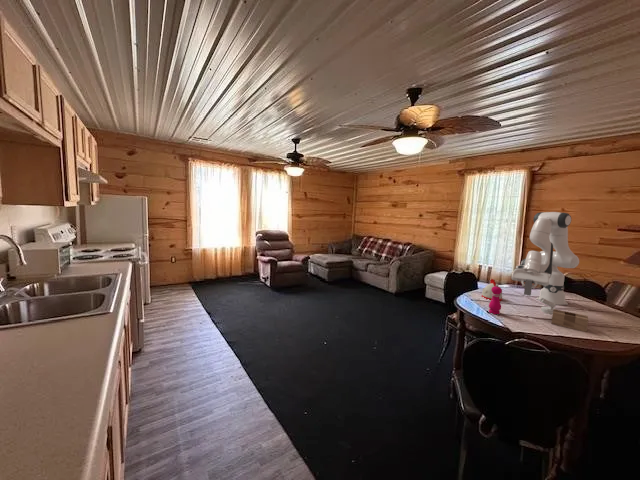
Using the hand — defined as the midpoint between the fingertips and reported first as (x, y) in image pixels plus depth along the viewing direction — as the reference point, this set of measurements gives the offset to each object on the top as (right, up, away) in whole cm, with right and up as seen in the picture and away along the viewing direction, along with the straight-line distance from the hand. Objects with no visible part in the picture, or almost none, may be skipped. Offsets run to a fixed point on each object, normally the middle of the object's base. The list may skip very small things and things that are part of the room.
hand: (528, 287), depth 186 cm
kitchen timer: (-1, -15, +38) cm, 41 cm away
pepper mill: (-19, -18, +6) cm, 27 cm away
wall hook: (+21, -19, +11) cm, 30 cm away
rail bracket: (0, -5, +1) cm, 5 cm away
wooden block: (+16, -21, -12) cm, 29 cm away
